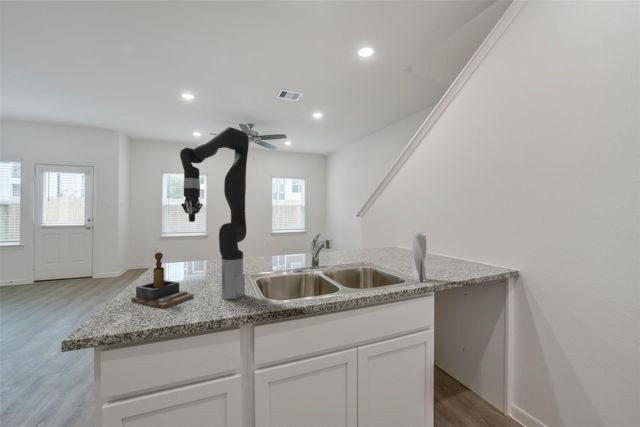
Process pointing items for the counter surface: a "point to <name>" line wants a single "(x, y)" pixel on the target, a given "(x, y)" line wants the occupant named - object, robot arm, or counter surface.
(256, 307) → the counter surface
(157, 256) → the brown wooden chess pawn
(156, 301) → the socket board
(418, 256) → the skyscraper
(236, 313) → the counter surface
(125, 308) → the counter surface
